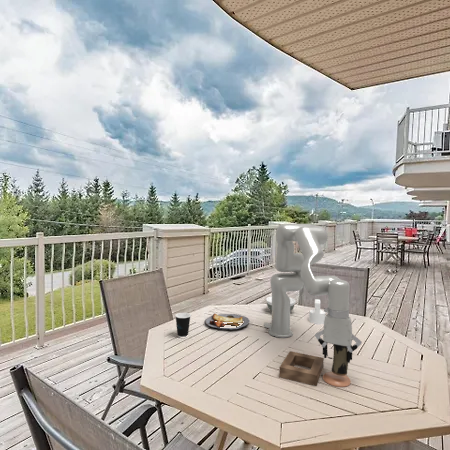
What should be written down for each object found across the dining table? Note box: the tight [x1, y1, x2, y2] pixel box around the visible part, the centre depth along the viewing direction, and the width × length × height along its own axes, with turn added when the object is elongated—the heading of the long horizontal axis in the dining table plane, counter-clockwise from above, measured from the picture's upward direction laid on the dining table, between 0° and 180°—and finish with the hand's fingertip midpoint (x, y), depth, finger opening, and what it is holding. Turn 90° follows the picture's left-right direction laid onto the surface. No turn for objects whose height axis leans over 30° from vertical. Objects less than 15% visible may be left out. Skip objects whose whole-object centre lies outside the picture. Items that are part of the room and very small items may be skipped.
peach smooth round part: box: [322, 371, 351, 388], centre depth 121 cm, size 10×10×1 cm
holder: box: [278, 350, 325, 387], centre depth 127 cm, size 14×16×4 cm
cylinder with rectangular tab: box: [308, 298, 326, 325], centre depth 186 cm, size 9×9×12 cm
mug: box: [326, 344, 349, 376], centre depth 121 cm, size 8×6×12 cm
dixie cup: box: [174, 312, 192, 338], centre depth 162 cm, size 8×8×11 cm
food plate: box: [204, 313, 251, 330], centre depth 181 cm, size 25×23×4 cm
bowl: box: [265, 295, 296, 312], centre depth 203 cm, size 19×19×8 cm
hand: (337, 358), depth 121 cm, fingers closed on mug, 7 cm apart
